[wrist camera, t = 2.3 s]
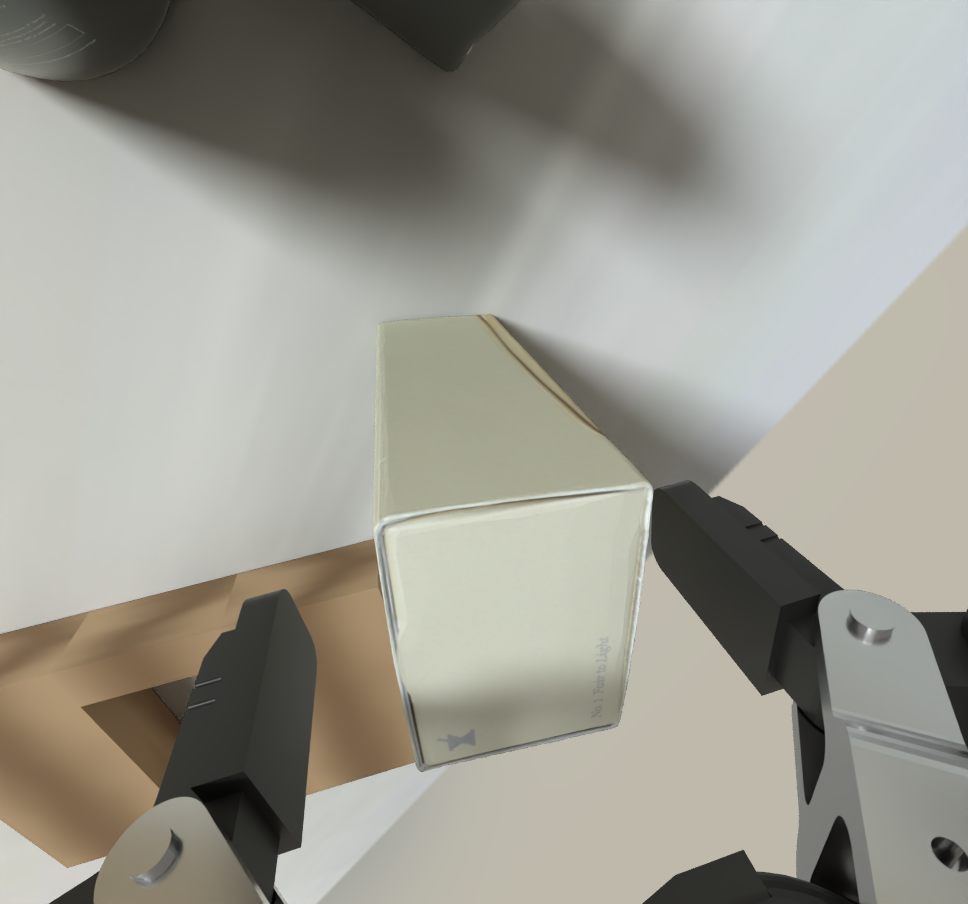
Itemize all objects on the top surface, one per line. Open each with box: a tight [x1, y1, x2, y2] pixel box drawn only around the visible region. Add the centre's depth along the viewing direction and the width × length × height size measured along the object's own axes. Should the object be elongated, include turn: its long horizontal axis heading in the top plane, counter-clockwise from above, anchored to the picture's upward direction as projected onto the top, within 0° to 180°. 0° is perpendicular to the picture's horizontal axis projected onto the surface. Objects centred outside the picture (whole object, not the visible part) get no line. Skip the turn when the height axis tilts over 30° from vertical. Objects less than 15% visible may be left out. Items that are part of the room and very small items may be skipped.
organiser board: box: [0, 539, 415, 868], centre depth 22 cm, size 18×12×3 cm, turn 99°
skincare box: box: [373, 314, 653, 772], centre depth 14 cm, size 6×4×12 cm
